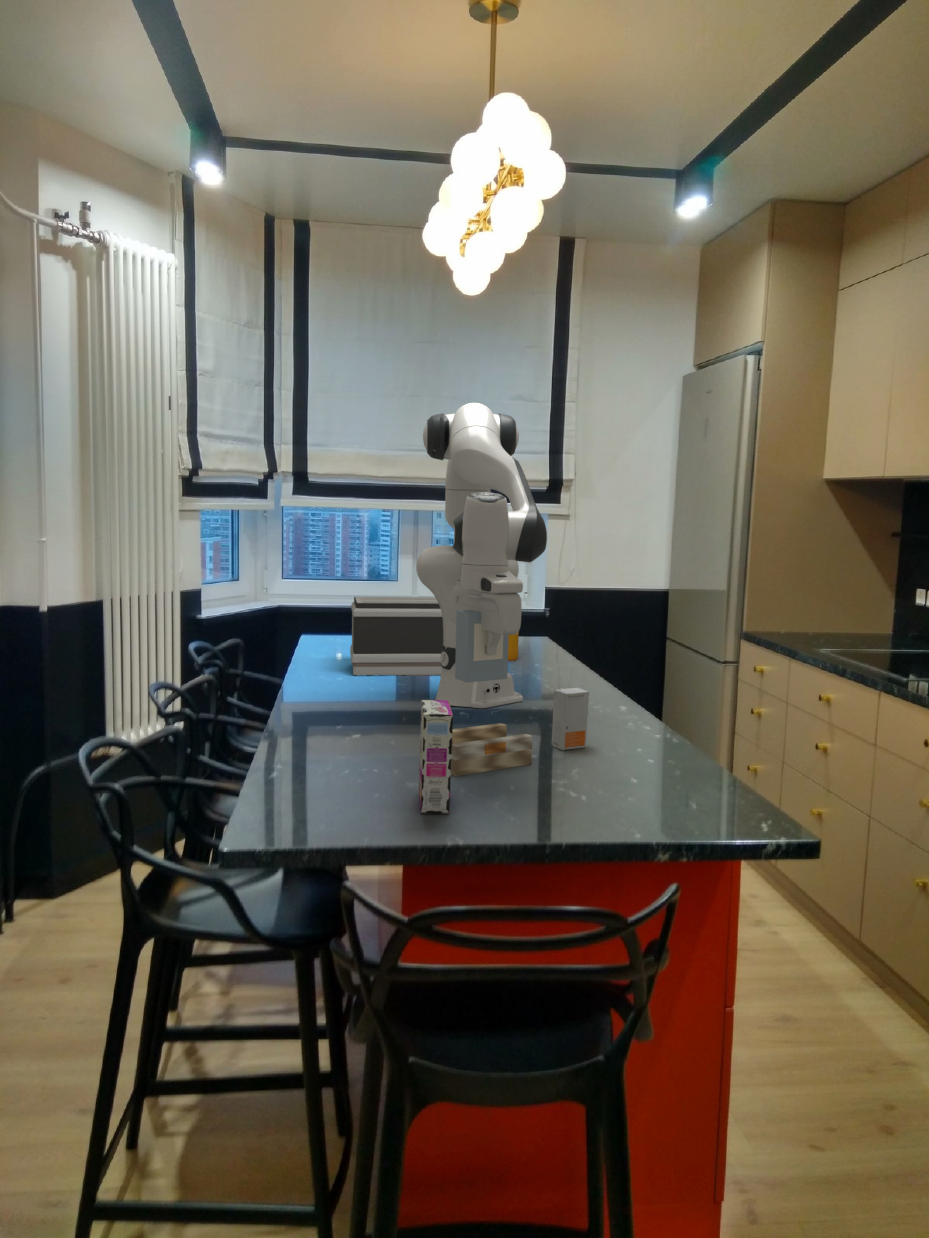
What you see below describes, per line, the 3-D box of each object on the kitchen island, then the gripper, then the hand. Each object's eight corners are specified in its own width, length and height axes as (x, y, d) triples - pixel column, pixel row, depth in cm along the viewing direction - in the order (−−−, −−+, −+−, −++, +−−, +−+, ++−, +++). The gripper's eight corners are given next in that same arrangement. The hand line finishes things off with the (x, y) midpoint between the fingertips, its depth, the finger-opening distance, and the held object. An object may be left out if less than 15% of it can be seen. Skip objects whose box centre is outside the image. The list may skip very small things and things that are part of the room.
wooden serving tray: (500, 749, 175) (501, 723, 174) (532, 764, 166) (533, 736, 165) (426, 760, 167) (427, 732, 166) (455, 776, 157) (456, 747, 156)
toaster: (470, 676, 249) (472, 604, 247) (351, 676, 244) (352, 603, 241) (460, 664, 267) (462, 597, 265) (349, 664, 262) (350, 596, 259)
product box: (455, 678, 164) (456, 610, 162) (494, 674, 168) (496, 608, 167) (467, 682, 160) (469, 613, 158) (507, 678, 164) (509, 611, 163)
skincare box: (562, 751, 175) (565, 693, 174) (551, 745, 179) (553, 689, 177) (587, 747, 178) (589, 691, 176) (575, 742, 182) (577, 687, 180)
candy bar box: (451, 814, 138) (454, 714, 136) (420, 814, 138) (422, 714, 135) (447, 791, 149) (449, 698, 147) (418, 791, 149) (420, 698, 146)
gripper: (442, 575, 169) (441, 644, 171) (499, 584, 151) (496, 662, 153) (470, 574, 172) (468, 643, 174) (528, 584, 155) (525, 659, 156)
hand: (482, 652), depth 163 cm, fingers closed on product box, 5 cm apart
